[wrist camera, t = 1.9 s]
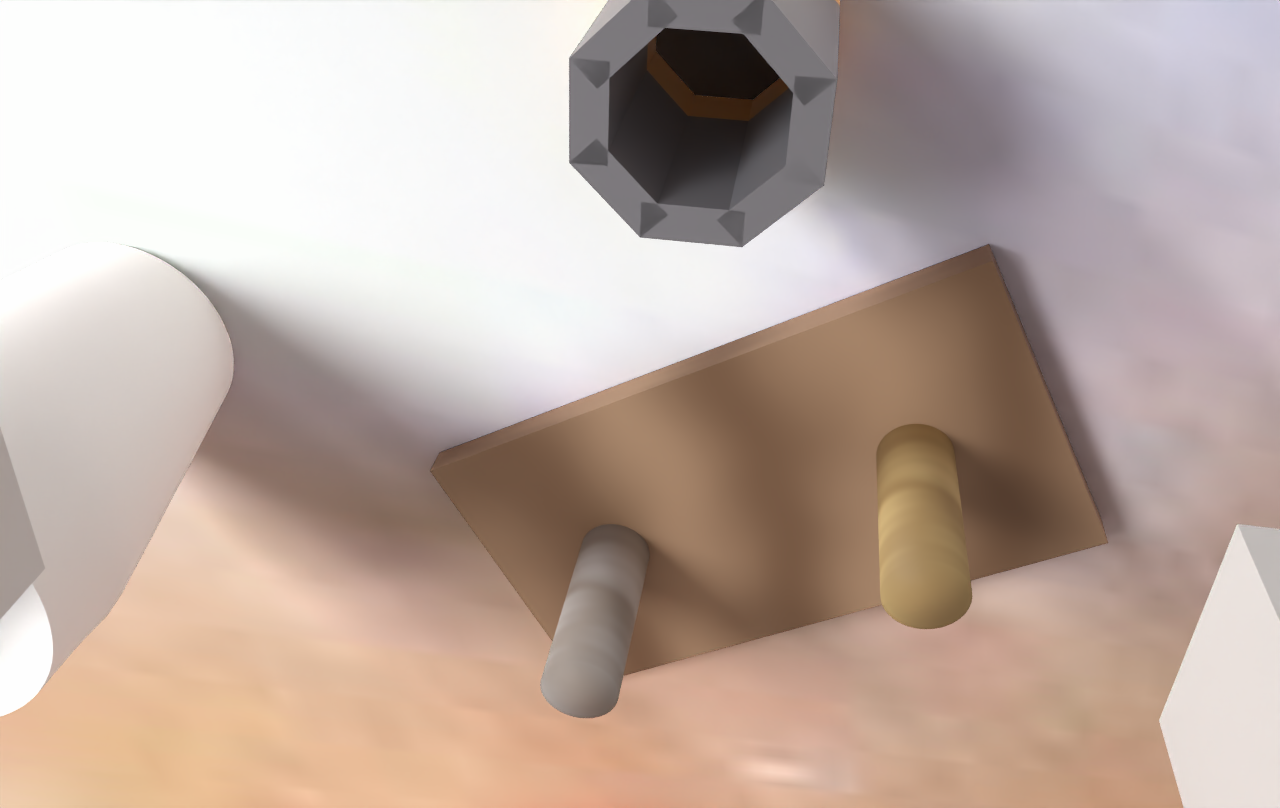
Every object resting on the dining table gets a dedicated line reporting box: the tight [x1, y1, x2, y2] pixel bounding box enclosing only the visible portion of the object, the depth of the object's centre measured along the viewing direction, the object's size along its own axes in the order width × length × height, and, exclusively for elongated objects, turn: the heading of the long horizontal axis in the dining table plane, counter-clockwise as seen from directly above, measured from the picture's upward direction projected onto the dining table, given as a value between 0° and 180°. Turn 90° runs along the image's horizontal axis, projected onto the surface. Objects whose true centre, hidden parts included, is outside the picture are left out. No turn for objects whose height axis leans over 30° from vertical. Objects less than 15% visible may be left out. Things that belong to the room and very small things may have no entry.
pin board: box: [430, 244, 1108, 718], centre depth 34 cm, size 18×10×7 cm, turn 118°
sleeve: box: [569, 0, 840, 247], centre depth 26 cm, size 5×5×7 cm
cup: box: [0, 242, 234, 716], centre depth 32 cm, size 9×9×12 cm
